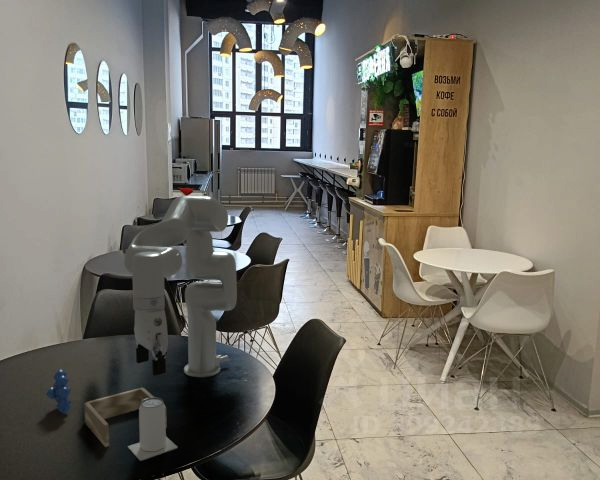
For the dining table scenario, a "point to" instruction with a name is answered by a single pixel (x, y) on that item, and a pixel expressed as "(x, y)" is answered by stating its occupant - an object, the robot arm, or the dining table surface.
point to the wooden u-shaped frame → (112, 410)
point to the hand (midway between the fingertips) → (150, 367)
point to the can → (152, 424)
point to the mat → (145, 455)
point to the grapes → (60, 392)
